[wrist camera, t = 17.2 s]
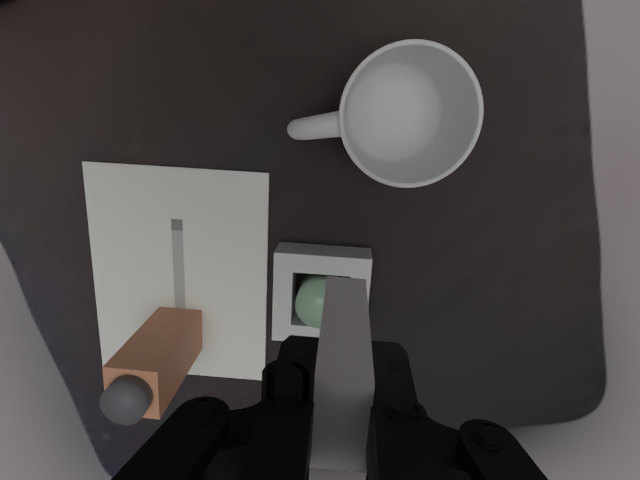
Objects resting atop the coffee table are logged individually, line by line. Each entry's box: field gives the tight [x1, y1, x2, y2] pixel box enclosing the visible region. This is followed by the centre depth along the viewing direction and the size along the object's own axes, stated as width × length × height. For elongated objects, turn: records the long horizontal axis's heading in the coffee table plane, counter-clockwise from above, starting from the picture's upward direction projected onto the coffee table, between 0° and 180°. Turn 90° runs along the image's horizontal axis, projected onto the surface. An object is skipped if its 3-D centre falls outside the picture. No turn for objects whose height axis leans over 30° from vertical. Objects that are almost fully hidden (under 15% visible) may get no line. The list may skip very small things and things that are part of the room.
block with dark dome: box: [100, 307, 202, 425], centre depth 37 cm, size 4×4×11 cm
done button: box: [295, 274, 337, 329], centre depth 38 cm, size 4×4×3 cm
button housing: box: [272, 242, 373, 341], centre depth 39 cm, size 8×8×3 cm
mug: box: [287, 39, 484, 188], centre depth 31 cm, size 12×8×10 cm
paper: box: [82, 161, 270, 380], centre depth 41 cm, size 20×16×1 cm
